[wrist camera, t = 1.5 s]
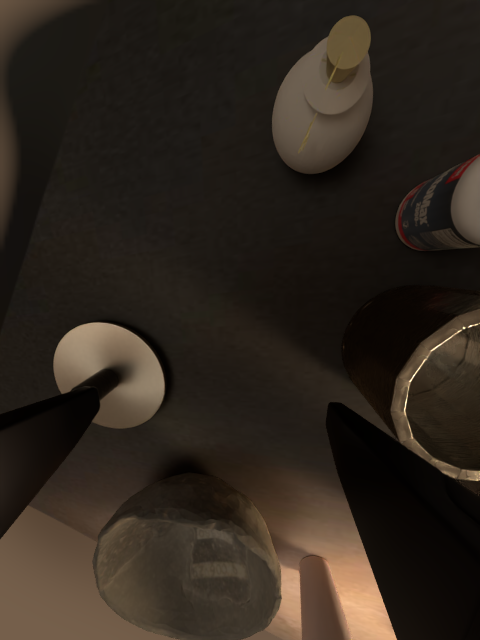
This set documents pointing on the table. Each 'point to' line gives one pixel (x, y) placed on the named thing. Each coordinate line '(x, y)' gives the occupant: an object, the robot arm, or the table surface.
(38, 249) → the table surface
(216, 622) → the bowl
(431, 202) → the pill bottle
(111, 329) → the lid
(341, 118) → the ornament
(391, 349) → the tin
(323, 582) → the smoothie
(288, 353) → the table surface
